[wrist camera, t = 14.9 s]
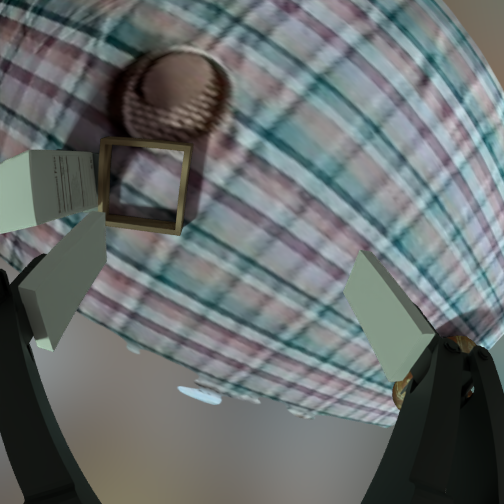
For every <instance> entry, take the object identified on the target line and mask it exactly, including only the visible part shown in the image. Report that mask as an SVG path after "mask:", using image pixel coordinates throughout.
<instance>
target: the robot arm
mask: <svg viewBox="0 0 504 504" xmlns="http://www.w3.org/2000/svg"><path fill="white" fill-rule="evenodd" d="M106 262H107V256H106V229H105V212H97V211H91V212H90V213H89V214H88V215H87V216H86V217H85V218H84V219H83V220H81V221H80V222H79V223H78V224H77V225H76V226H75V227H74V228H73V229H72V230H71V231H70V232H69V233H68V234H67V235H66V236H65V237H64V238H63V239H62V240H61V241H60V242H59V243H58V244H57V245H56V246H55V247H54V248H53V249H52V250H51V251H50V252H49V253H48V254H44V253H43V254H41V255H39V256H38V257H36V258H34V259H33V260H32V261H31V262H30V263H29V264H28V265H27V267H25V268H24V270H23V271H22V272H21V273H20V274H19V275H18V276H17V277H16V278H15V280H14V281H13V282H12V283H11V284H9V281H8V277H7V274H6V271H4V270H3V269H0V433H1V436H2V440H3V443H4V446H5V449H6V452H7V455H8V458H9V461H10V463H11V466H12V469H13V471H14V474H15V476H16V479H17V481H18V484H19V486H20V488H21V490H22V493H23V495H24V499H25V502H24V504H102V503H101V502H100V500H99V499H98V497H97V496H96V494H95V493H94V491H93V490H92V488H91V486H90V485H89V483H88V481H87V480H86V478H85V476H84V475H83V473H82V471H81V469H80V468H79V466H78V464H77V462H76V460H75V459H74V456H73V455H72V453H71V451H70V449H69V447H68V445H67V443H66V441H65V438H64V436H63V434H62V432H61V430H60V428H59V425H58V423H57V421H56V418H55V416H54V414H53V411H52V409H51V406H50V404H49V401H48V399H47V396H46V393H45V390H44V387H43V384H42V382H41V379H40V375H39V373H38V369H37V366H36V363H35V359H34V356H33V352H32V349H31V346H30V344H29V342H30V341H31V339H32V337H33V336H34V338H35V341H36V344H37V346H38V347H40V348H43V349H46V350H50V351H53V352H54V350H55V348H56V346H57V344H58V342H59V341H60V339H61V337H62V335H63V333H64V331H65V329H66V328H67V326H68V324H69V322H70V321H71V319H72V317H73V315H74V314H75V312H76V310H77V308H78V307H79V305H80V303H81V302H82V300H83V298H84V297H85V295H86V293H87V292H88V290H89V288H90V287H91V285H92V284H93V282H94V280H95V279H96V277H97V276H98V274H99V273H100V271H101V269H102V268H103V266H104V265H105V263H106ZM343 293H344V295H345V297H346V298H347V300H348V302H349V304H350V306H351V308H352V310H353V311H354V313H355V315H356V317H357V319H358V321H359V323H360V325H361V327H362V329H363V331H364V332H365V334H366V336H367V338H368V340H369V342H370V344H371V346H372V348H373V350H374V352H375V354H376V356H377V358H378V360H379V362H380V364H381V366H382V368H383V370H384V373H385V375H386V377H387V379H388V381H389V382H396V381H403V379H404V378H405V377H406V375H407V374H408V373H409V371H410V372H411V374H412V376H413V377H412V379H411V380H410V381H409V382H408V384H407V385H406V386H405V387H404V389H403V390H402V391H401V393H400V394H401V395H402V394H403V393H404V392H405V391H406V393H405V397H404V400H403V403H402V406H401V409H400V412H399V415H398V418H397V421H396V424H395V427H394V430H393V433H392V435H391V438H390V440H389V443H388V445H387V448H386V451H385V453H384V455H383V458H382V460H381V462H380V465H379V467H378V469H377V471H376V474H375V476H374V478H373V480H372V482H371V484H370V486H369V488H368V490H367V492H366V494H365V497H364V498H363V500H362V502H361V504H504V393H503V389H502V385H501V382H500V379H499V376H498V373H497V370H496V367H495V364H494V361H493V358H492V356H491V354H490V353H489V352H488V350H487V349H486V348H484V347H481V346H478V345H476V346H474V347H473V348H472V350H471V351H470V353H465V352H462V350H461V348H460V346H459V345H458V344H457V343H456V342H454V341H453V340H451V339H449V338H444V337H443V338H441V337H440V336H439V334H438V333H437V332H436V330H435V329H434V327H433V326H432V325H431V323H430V322H429V321H427V318H426V317H425V315H423V313H422V311H421V310H420V309H419V307H418V306H417V305H415V304H414V303H413V302H412V301H411V300H410V298H409V297H408V296H407V295H406V293H405V292H404V291H403V290H402V288H401V287H400V286H399V284H398V283H397V282H396V281H395V279H394V278H393V277H392V276H391V275H390V273H389V272H388V271H387V270H386V268H385V267H384V266H383V265H382V264H381V262H380V261H379V260H378V259H377V258H376V256H375V255H374V254H373V253H372V252H370V251H364V250H360V251H359V254H358V256H357V259H356V261H355V264H354V267H353V269H352V272H351V274H350V277H349V279H348V282H347V284H346V286H345V289H344V291H343ZM473 386H474V393H473V394H472V395H471V396H470V397H468V392H469V391H470V390H471V389H472V387H473ZM445 492H446V493H445Z"/></svg>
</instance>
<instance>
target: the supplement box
mask: <svg viewBox="0 0 504 504" xmlns="http://www.w3.org/2000/svg"><path fill="white" fill-rule="evenodd" d="M97 207H98V200H97V192H96V184H95V175H94V166H93V155H92V152H81V151H61V150H28V151H26V152H23V153H21V154H19V155H17V156H14V157H12V158H10V159H7V160H5V161H4V162H2V163H0V234H1V233H6V232H11V231H15V230H20V229H24V228H28V227H32V226H36V225H40V224H43V223H46V222H49V221H52V220H55V219H59V218H62V217H65V216H69V215H72V214H76V213H79V212H82V211H86V210H89V209H93V208H97Z"/></svg>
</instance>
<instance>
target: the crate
mask: <svg viewBox="0 0 504 504" xmlns="http://www.w3.org/2000/svg"><path fill="white" fill-rule="evenodd" d="M112 145H123V146H136V147H148V148H159V149H168V150H177V151H184V157H183V165H182V173H181V181H180V189H179V198H178V207H177V217H176V222H169V221H161V220H154V219H146V218H138V217H130V216H122V215H114V214H109V191H110V167H111V152H112ZM192 150H193V144H191V143H183V142H174V141H164V140H153V139H142V138H128V137H110V136H108V137H105V138H101V139H100V153H99V172H98V212H105V226H110V227H118V228H125V229H133V230H140V231H148V232H155V233H163V234H170V235H177V236H180V234H181V232H182V229H183V221H184V211H185V203H186V194H187V186H188V178H189V171H190V164H191V157H192Z"/></svg>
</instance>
